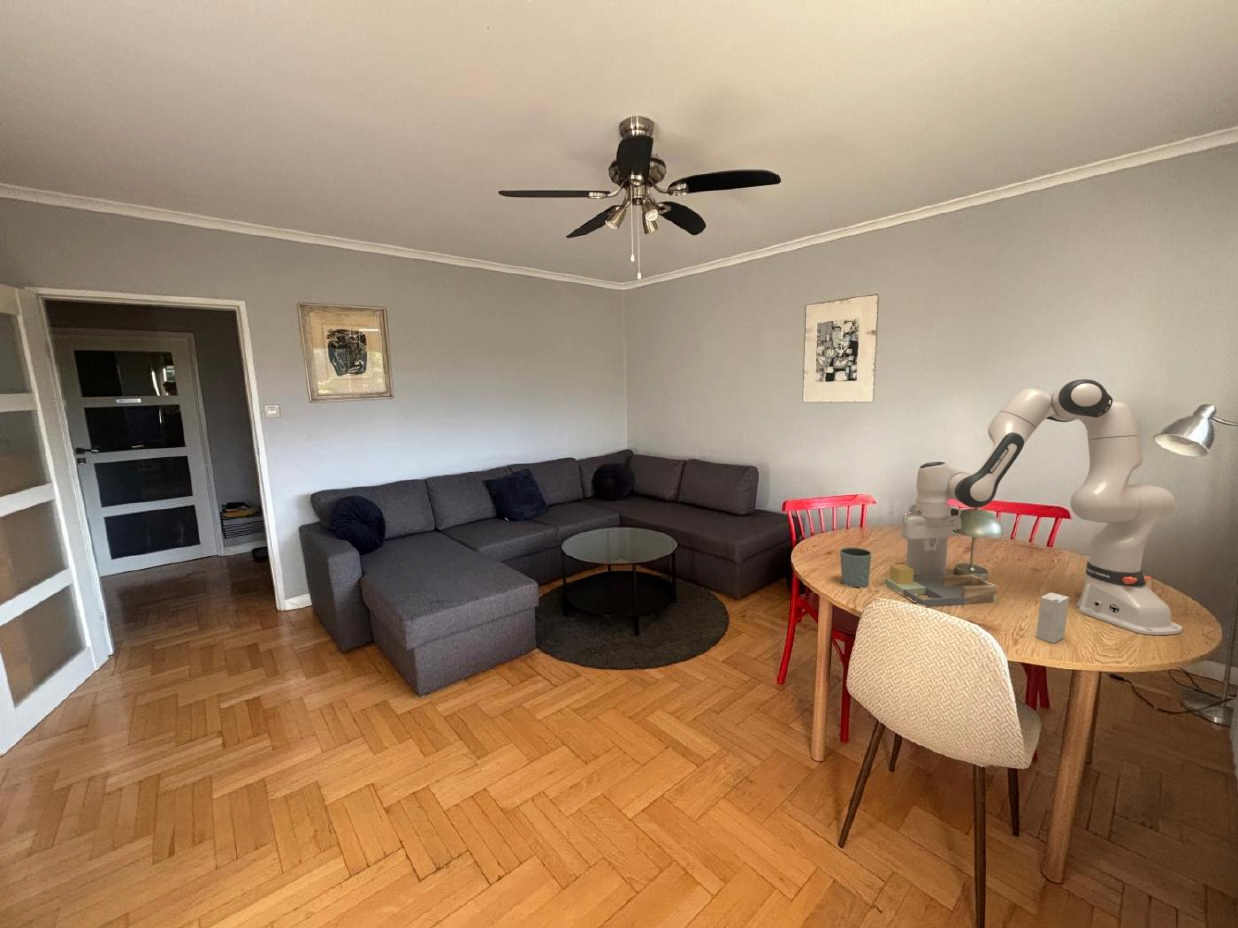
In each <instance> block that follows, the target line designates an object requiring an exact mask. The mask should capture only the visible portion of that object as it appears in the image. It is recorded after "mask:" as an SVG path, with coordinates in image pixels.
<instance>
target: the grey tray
mask: <svg viewBox="0 0 1238 928" xmlns="http://www.w3.org/2000/svg"><path fill="white" fill-rule="evenodd" d="M953 575H955V574H953V573H945V574H940V575H926V576H916V575H913V583H908V584H898V583H896V582H895V581H893V580H891V579H890V577H886V578H884V584H886V585H887V586H889V587H890V588H889V587H888V588H889V589H891V588H892V589H895V590H897V591H898V592H900V593H902V594H903V595H904V596H906V597H909V598H911V599H912V600H913V601H916V602H915V603H918V604H921V605H925V606H927V607H926V608H934V607H933V606H937V608H938V607H949V606H961V605H962V606H963V605H968V604H967V602H966V601H967V600H971V599H970V598H969V599H967V600H966V601H965V597H963V596H961V593H962V587H963V586H974V585H972V584H971V585H957V586H944V585H942V578H943V576H953ZM886 585H885V586H886ZM887 586H886V587H887ZM892 589H891V590H892ZM915 594H926V596H927V595H928V597H929V598H922V597H920V595H915ZM904 596H903V597H904ZM931 597H932V598H931ZM979 597H980V596H979ZM984 597H985V596H984ZM988 597H989V596H988ZM991 597H992V596H991ZM974 598H975V597H974ZM977 599H978V598H977ZM987 599H988V600H989V598H987ZM987 599H986V598H985V600H987ZM995 599H996V598H995ZM975 600H976V599H974V601H973V600H972V601H973V602H976V601H975ZM978 600H979V599H978ZM982 600H983V598H982ZM988 600H987V601H988ZM990 600H991V599H990ZM993 600H994V599H993ZM993 600H992V601H993ZM996 600H997V599H996ZM980 601H981V599H980ZM965 602H966V604H965ZM981 602H982V601H981ZM988 602H989V601H988ZM915 603H914V604H915ZM973 604H974V603H973ZM984 604H987V603H986V602H985V603H984Z"/></svg>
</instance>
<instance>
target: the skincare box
mask: <svg viewBox="0 0 1238 928" xmlns="http://www.w3.org/2000/svg"><path fill="white" fill-rule="evenodd" d="M1069 602H1070V597H1069V596H1068V595H1067V596H1066V595H1063V594H1059V593H1054V592H1048V593H1047V594H1045V595H1042V596H1040V602H1039V607H1038V609H1039V611H1038V616H1037V626H1036V635H1035V637H1036V638H1038V639H1040V640H1043V641H1046V642H1049V643H1051V644H1052V643H1053V644H1055V643H1056V642H1058V641H1060V640H1062V639H1064V638H1065V635H1066V626H1067V625H1066V624H1067V618H1068V617H1067V616H1068V610H1069Z"/></svg>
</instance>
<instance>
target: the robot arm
mask: <svg viewBox="0 0 1238 928" xmlns="http://www.w3.org/2000/svg"><path fill="white" fill-rule="evenodd" d="M1045 420H1051V421H1054V422H1060V423H1069V422H1073V421H1077V420H1078V421H1080V422H1081V423H1083V425H1084V428H1085V429H1086V433H1087V434H1086V435H1087V436H1086V437H1087V444H1088V456H1089V470H1088V473H1087V476H1086V478H1085V481H1084V482H1083V484H1082V486H1080V488H1078V489H1077V490H1075V492H1074V493H1073V494H1072V496H1071V497H1070V508H1071V510H1072V512H1073V514H1074V516H1076V517H1077V518H1079V519H1081V520H1083V521H1087V522H1093V523H1099V524H1100V523H1103V524H1104V523H1105V524H1106V523H1107V524H1106V525H1105V527H1104V528H1103V529H1102V530H1101V531H1099V532H1097V533H1095V534H1094V535H1093V536H1092V538H1091V540H1090V547H1089V558H1088V560H1087V562H1086V566H1085V574H1086V578H1085V583H1084V586H1083V588H1082V589H1083V590H1082V592H1081V595H1080V597H1079V598H1078V601H1077V602H1076V606H1077V607H1078V613H1081V614H1084V615H1087V616H1088V617H1089V616H1090V617H1091V618H1094V619H1098V620H1100V621H1103V622H1106V623H1109V624H1112V625H1113V626H1117V627H1120V628H1122V629H1126V630H1128V631H1132V632H1134V633H1138V634H1142V635H1152V636H1166V635H1177V634H1180V633H1182V632H1183V626H1182V625H1180V624H1178V623H1176V622H1174V621H1172V612H1171V608H1170V607H1169V605H1168V604H1167V603H1166V602H1165V601H1164V600H1163V599H1162V598H1160V597H1159V595H1157V594H1156V593H1155V592H1154V591H1153V590H1152V589H1151V588H1150V587H1149V586H1148V585H1147V582H1148V581H1151V578H1152V576H1145V574H1144V573H1143V570H1142V569H1141V568H1142V561H1143V556H1144V550H1145V548H1146V547H1145V546H1146V543H1147V541H1148V539H1149V537H1150V536H1151V534H1152V532H1154V530H1155V529H1156V528H1157V526H1158V524H1160V523H1161V522H1162V521H1163V520H1164V519H1166V518H1168V517H1169V516H1172V515H1171V514H1173V512H1174V511H1175V509H1176V500H1175V497H1174V495H1173V494H1172V493H1171V492H1170V491H1169V490H1168V489H1166V488H1164V487H1161V486H1157V485H1156V486H1155V485H1149V484H1144V483H1142V484H1140V483H1139V484H1129V482H1130V481H1129V480H1130V479H1131V475H1132V473H1133V472H1134V471H1135V470H1136V469H1139V467H1140V466H1142V464H1143V461H1144V459H1143V452H1142V451H1143V450H1142V443H1141V435H1140V430H1139V425H1138V423H1137V421H1138V420H1137V417H1136V415H1135V413H1134V411H1133V409H1132V407H1131V406H1130V405H1129V404H1127V403H1125V402H1121V401H1114V399H1113V397H1112V396H1111V395H1110V394H1109V393H1108V392H1107V390H1106V388H1105V387H1104V386H1103V385H1102V384H1101V383H1099V382H1098V381H1096V380H1093V379H1088V378H1087V379H1086V378H1085V379H1084V378H1082V379H1076V380H1071V381H1070V382H1067V383H1066V384H1063V385H1061V386H1059V387H1058V388H1056V389H1055V390H1053V391H1051V392H1045V391H1043V390H1041V389H1038V388H1031V387H1030V388H1024V389H1022V390H1020V391H1019V392H1018V393H1017V394H1014V396H1013V397H1011V399H1009V401H1007V403H1006V404H1005V405H1004V406H1003V407H1001V409H1000V410H998V412H997V414H996V415H995V416H994V417H993V419H992V421H991V422H990V424H989V426H988V427H987V434H988V437H989V439H990V440H991V441H992V443H993V446H992V447H993V448H992V450H991V452H990V453H989V455H988V456H987V457H986V459H985V460H984V462H983V463H982V465H981V466H980V468H979V469H978V470H977V471H976V472H974V473H969V472H966V471H962V470H960V469H957V468H954V467H952V466H950V465H948V464H947V463H946V462H944V461H932V462H926V463H924V464H921V465H920V466H919V468H918V471H917V476H916V477H917V478H916V492H917V497H916V499H915V504H916V511H915V512H909V511H906V513H905V514H903V516H902V521H901V528H900V537H901V538H903V539H905V540H907V541H908V540H917V539H921V541H922V542H923V544H924V550H925V551H936V546H937V544H938V542H939V540H940V538H943V537H948V538H953V537H959V536H960V535H961V533H960V534H957V533H955V532H954V531H953V530H955V531H957V530H956V529H961V530H962V519H961V517H960V516H961V515H962V510H961V509H959V508H957V507H952V506H949V505H948V501H949V500H954V501H957V502H960V503H961V504H963V505H965V506H966V507H968V508H974V509H977V508H983V507H985V506H988V505H989V504H990V503H992V501H993V500H994V499H995V497H996V494H997V490H998V488H999V484H1000V482H1001V481H1002V479H1003V478H1004V477H1005V475H1006V473H1007V472H1008V471H1009V469H1010V467H1011V468H1012V465H1013V464H1014V463H1015V461H1016V460H1017V458H1018V456H1019V455H1020V453H1021V452H1022V450H1023V448H1024V446H1025V444H1026V443H1027V441H1028V439H1030V437H1031V436H1032V434H1034V432H1035V431H1036V430H1037V429H1038V427H1039V426H1040V425H1041V423H1042V422H1044V421H1045ZM952 520H953V521H952ZM951 521H952V522H951ZM930 538H931V540H932V542H931V544H930V545H929V543H928V542H929V541H930Z"/></svg>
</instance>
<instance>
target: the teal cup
mask: <svg viewBox="0 0 1238 928" xmlns="http://www.w3.org/2000/svg"><path fill="white" fill-rule="evenodd" d="M839 555H840V566H841V567H840V570H841V583H842V582H843V583H844V584H846V585H848V586H847V587H849V586H852V587H851V588H853V587H865V588H867V587H869V581H870V571H871V561H872V552H871V551H870V550H868V549H866V548H862V547H853V546H852V547H851V546H849V547H842V548H841V549H840V550H839ZM843 583H842V584H843ZM844 584H843V585H844ZM846 585H845V586H846ZM866 586H867V587H866Z"/></svg>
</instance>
